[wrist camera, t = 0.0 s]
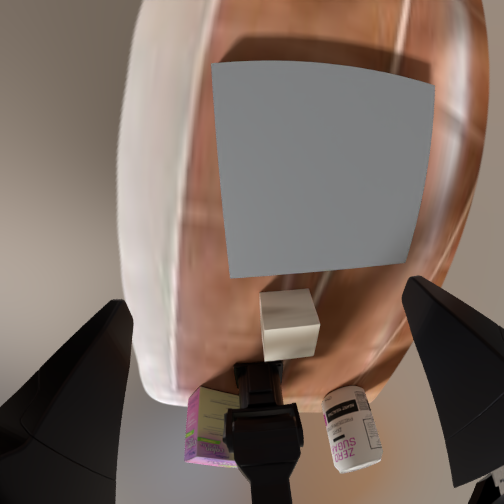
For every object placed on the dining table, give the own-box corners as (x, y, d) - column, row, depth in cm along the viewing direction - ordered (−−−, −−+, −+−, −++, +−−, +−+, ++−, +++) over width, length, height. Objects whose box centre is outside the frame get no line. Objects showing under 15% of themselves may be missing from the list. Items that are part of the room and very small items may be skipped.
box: (187, 398, 40) (183, 462, 30) (199, 385, 37) (196, 457, 27) (242, 410, 43) (246, 469, 33) (259, 398, 40) (265, 462, 30)
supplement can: (354, 401, 45) (371, 466, 33) (315, 407, 45) (329, 476, 32) (370, 380, 41) (394, 453, 28) (328, 387, 40) (347, 467, 28)
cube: (304, 320, 30) (313, 355, 26) (260, 324, 30) (264, 361, 26) (308, 287, 27) (320, 324, 23) (259, 292, 27) (264, 330, 23)
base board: (391, 245, 25) (405, 262, 23) (230, 257, 25) (230, 278, 22) (413, 83, 16) (434, 85, 14) (214, 67, 16) (211, 63, 13)
